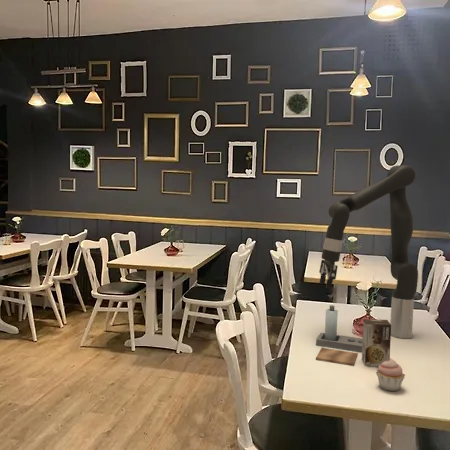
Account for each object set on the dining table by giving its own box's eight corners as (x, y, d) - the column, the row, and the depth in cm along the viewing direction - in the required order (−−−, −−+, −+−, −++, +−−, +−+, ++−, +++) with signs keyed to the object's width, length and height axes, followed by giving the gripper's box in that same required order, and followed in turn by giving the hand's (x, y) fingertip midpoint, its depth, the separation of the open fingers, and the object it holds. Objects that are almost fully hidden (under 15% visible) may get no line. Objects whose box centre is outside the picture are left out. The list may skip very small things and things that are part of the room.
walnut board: (357, 355, 186) (357, 353, 186) (353, 365, 175) (353, 363, 175) (321, 349, 191) (321, 347, 191) (315, 359, 180) (315, 357, 180)
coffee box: (385, 361, 181) (387, 319, 179) (389, 367, 174) (392, 324, 173) (360, 359, 182) (363, 318, 180) (364, 366, 175) (366, 323, 174)
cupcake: (380, 379, 164) (382, 350, 163) (408, 387, 158) (410, 357, 157) (370, 387, 157) (371, 358, 156) (398, 396, 151) (400, 366, 150)
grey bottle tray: (371, 345, 198) (371, 338, 197) (368, 353, 188) (369, 345, 188) (320, 338, 205) (320, 331, 205) (315, 345, 196) (316, 338, 196)
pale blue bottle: (336, 342, 200) (338, 305, 199) (335, 346, 196) (337, 308, 194) (325, 340, 202) (327, 303, 200) (323, 344, 197) (325, 306, 196)
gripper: (346, 253, 198) (339, 291, 199) (334, 248, 212) (327, 283, 213) (329, 250, 197) (322, 288, 198) (318, 245, 211) (311, 281, 212)
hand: (325, 286), depth 205 cm, fingers open, 8 cm apart
